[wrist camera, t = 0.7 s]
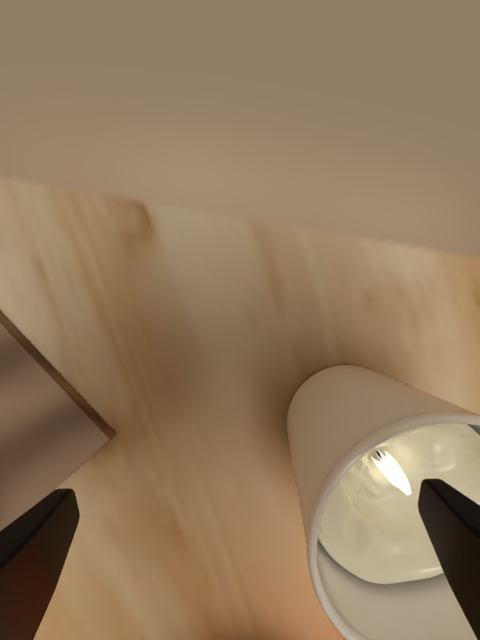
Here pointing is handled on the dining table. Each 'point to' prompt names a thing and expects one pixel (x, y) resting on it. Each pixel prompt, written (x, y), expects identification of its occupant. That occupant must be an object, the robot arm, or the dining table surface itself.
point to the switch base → (38, 426)
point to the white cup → (378, 500)
